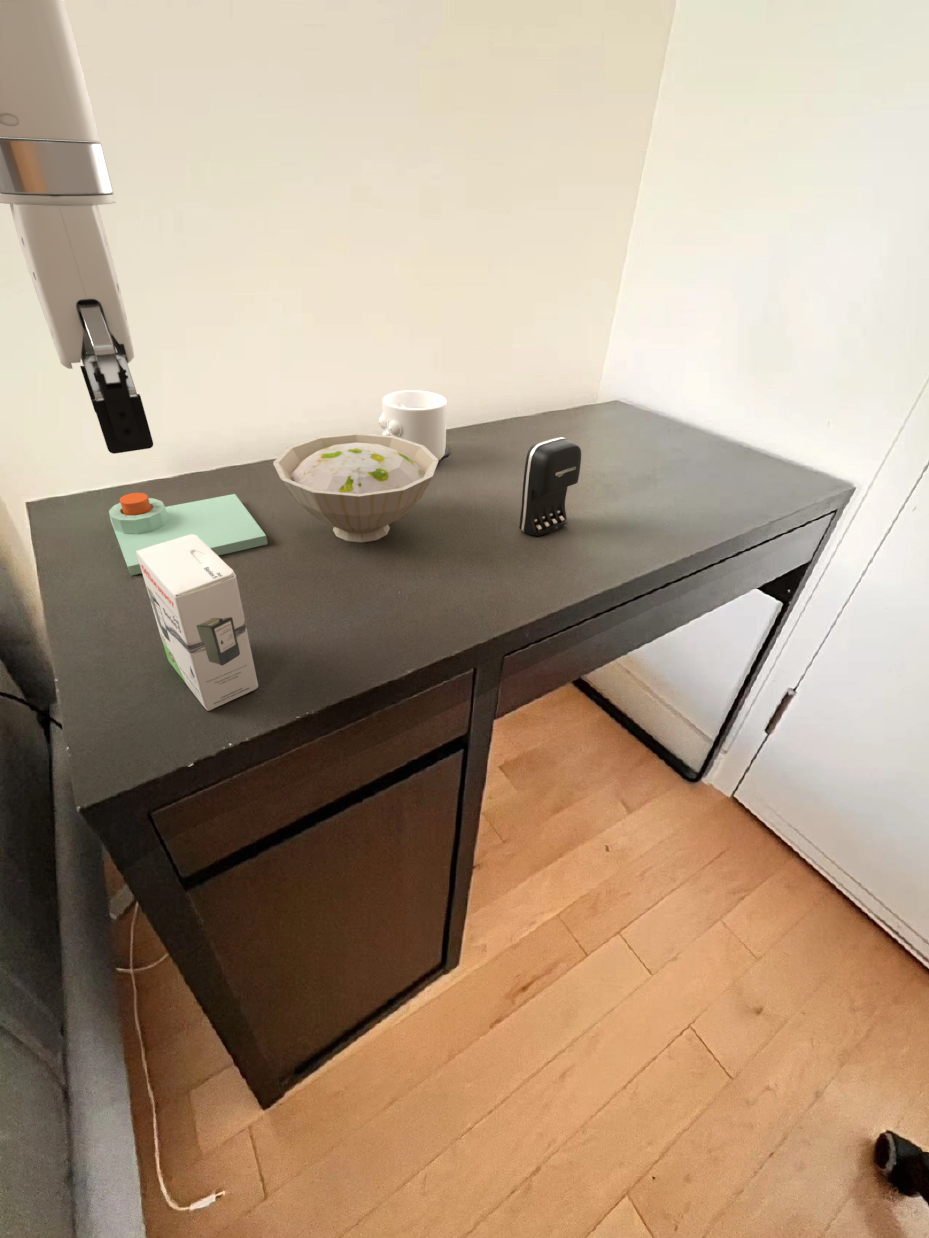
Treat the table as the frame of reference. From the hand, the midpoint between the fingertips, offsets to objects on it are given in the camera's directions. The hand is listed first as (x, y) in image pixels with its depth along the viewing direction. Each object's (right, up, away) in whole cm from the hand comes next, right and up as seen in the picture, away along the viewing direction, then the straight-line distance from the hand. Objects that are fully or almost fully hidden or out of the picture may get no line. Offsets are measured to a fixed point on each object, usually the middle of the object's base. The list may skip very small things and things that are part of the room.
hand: (123, 429), depth 51 cm
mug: (+19, +10, +47) cm, 52 cm away
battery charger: (+39, -4, +29) cm, 49 cm away
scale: (-5, -6, +23) cm, 24 cm away
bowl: (+15, -4, +27) cm, 31 cm away
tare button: (-10, -3, +22) cm, 25 cm away
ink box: (+6, -21, +3) cm, 22 cm away
